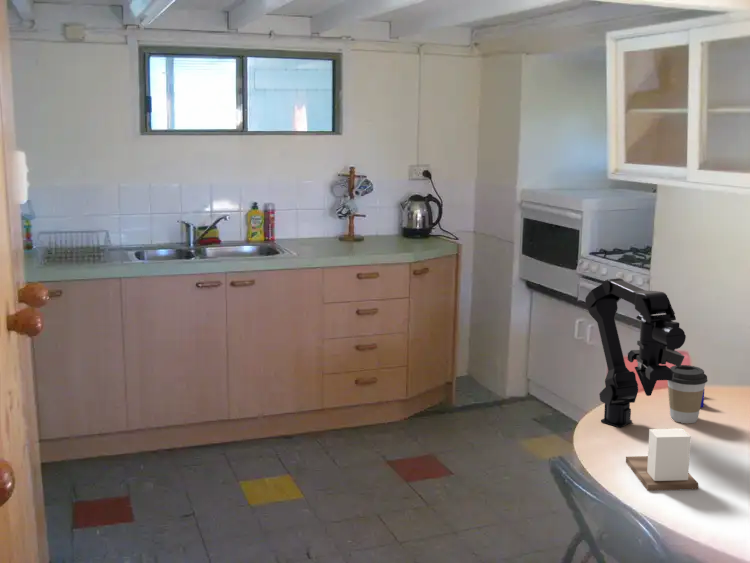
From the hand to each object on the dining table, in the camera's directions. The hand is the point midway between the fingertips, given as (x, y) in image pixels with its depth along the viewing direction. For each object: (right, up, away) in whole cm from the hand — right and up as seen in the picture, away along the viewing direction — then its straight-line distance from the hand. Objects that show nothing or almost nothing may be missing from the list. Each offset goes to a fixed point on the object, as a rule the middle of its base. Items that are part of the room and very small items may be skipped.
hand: (648, 395), depth 217 cm
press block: (-3, -16, -23) cm, 28 cm away
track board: (-3, -17, -18) cm, 25 cm away
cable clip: (+24, -7, +33) cm, 41 cm away
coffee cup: (+16, -10, +17) cm, 26 cm away
